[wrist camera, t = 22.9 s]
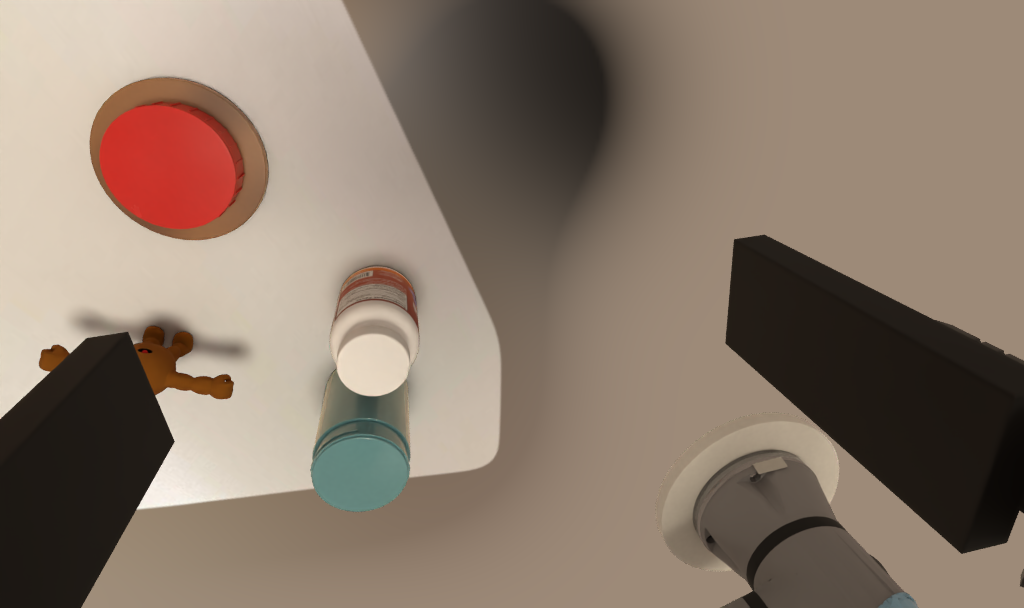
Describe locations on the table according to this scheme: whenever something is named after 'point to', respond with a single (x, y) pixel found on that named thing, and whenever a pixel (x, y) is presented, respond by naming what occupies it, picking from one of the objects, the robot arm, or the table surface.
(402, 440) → the jar
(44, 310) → the table surface
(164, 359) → the toy figurine
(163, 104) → the cap
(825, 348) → the robot arm
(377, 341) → the pill bottle
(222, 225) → the coaster
